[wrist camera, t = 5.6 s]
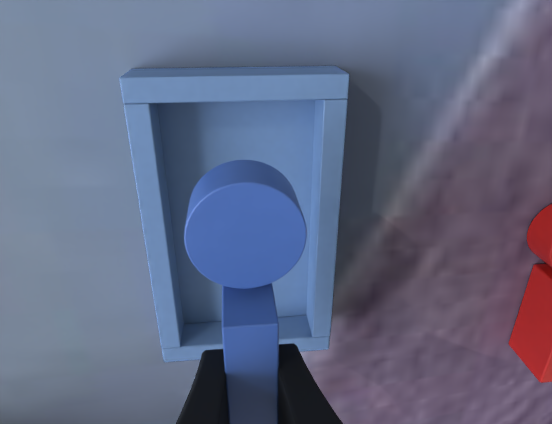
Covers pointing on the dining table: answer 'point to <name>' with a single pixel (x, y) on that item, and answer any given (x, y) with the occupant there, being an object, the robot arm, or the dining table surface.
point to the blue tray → (224, 148)
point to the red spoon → (537, 303)
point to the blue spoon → (246, 272)
